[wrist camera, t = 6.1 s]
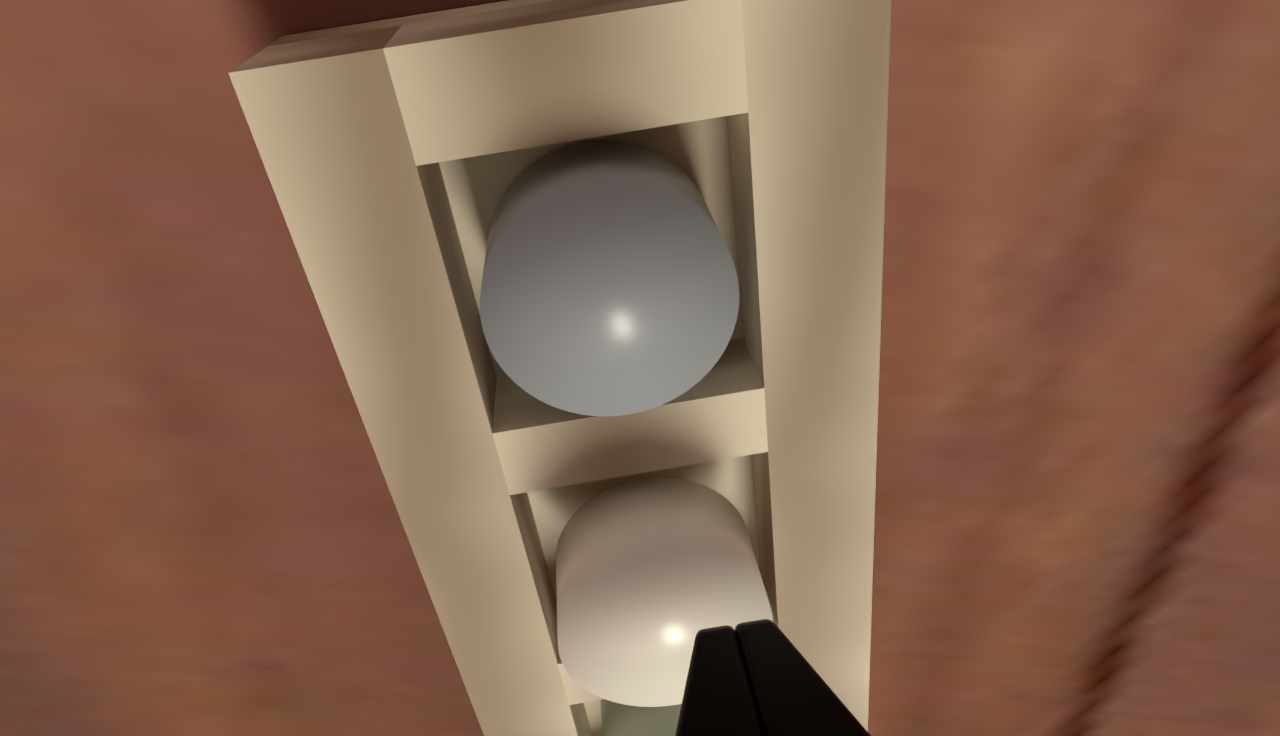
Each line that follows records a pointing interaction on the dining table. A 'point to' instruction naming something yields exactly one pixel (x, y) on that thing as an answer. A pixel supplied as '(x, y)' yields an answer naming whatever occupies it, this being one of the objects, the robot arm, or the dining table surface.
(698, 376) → the button slate
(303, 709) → the dining table surface
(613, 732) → the button sage
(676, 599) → the button cream
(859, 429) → the wooden compartment tray
